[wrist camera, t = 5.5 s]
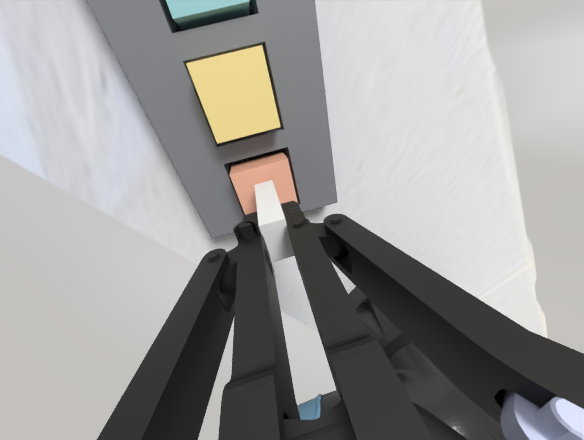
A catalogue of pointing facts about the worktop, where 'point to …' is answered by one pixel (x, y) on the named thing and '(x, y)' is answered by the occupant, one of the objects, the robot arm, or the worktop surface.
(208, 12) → the teal button
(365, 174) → the worktop surface
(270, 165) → the terracotta button
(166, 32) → the button panel
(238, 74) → the yellow button
